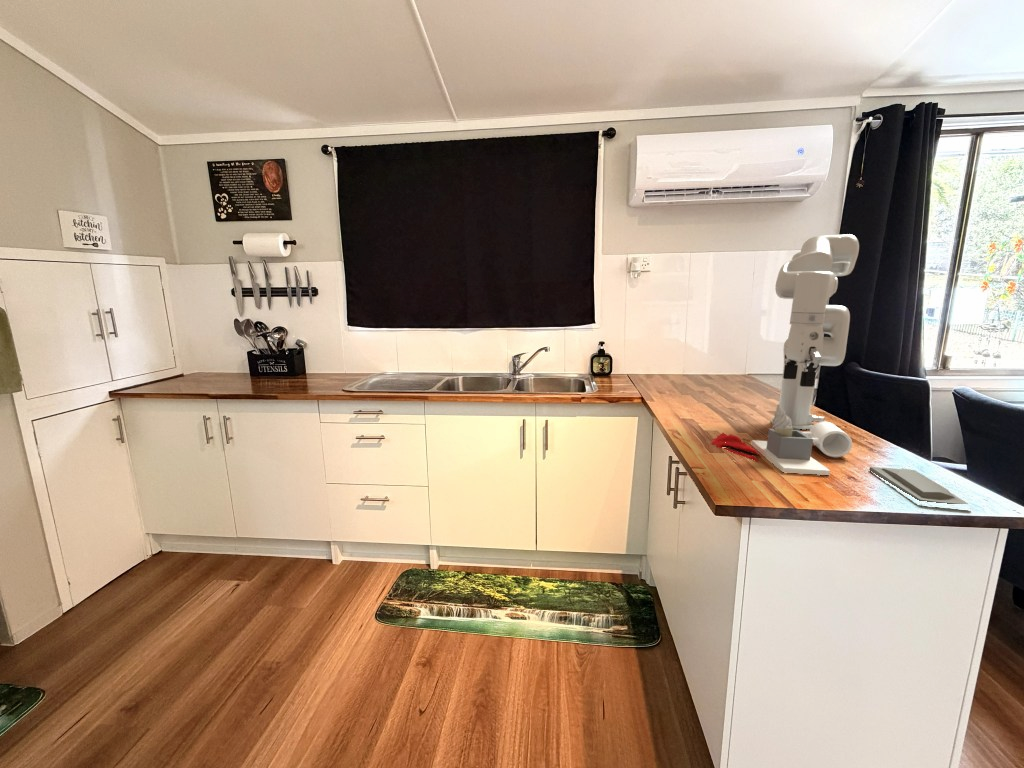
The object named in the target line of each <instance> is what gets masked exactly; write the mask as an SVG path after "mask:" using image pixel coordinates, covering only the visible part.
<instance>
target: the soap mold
mask: <svg viewBox="0 0 1024 768" xmlns="http://www.w3.org/2000/svg"><path fill="white" fill-rule="evenodd" d="M869 470H870V471H872V472H873V473H875V474H876V475H878V476H879V477H881V478H883V479H884V480H886V481H888V482H889V483H891V484H892V485H894V486H896V487H897V488H899V489H900V490H902V491H903V492H905V493H907V494H909V495H911V496H912V497H914V498H915V499H917V500H919V501H927V502H936V503H947V504H969V503H967V502H966V501H965V500H963V499H961V498H960V497H958V496H956V495H955V494H953V493H952V492H951V491H950V490H949V489H947V488H946V487H944V486H942V485H940V484H939V483H937V482H936V481H935V480H932V479H930V478H929V477H927V476H925V475H924V474H922V473H920V472H919V471H918V470H917V471H916V470H914V469H910V468H909V469H908V468H893V467H891V468H890V467H877V466H869V469H868V471H869Z"/></svg>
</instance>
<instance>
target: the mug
mask: <svg viewBox="0 0 1024 768" xmlns="http://www.w3.org/2000/svg"><path fill="white" fill-rule="evenodd" d="M808 430H809V431H802V432H803V433H804V434H806V435H807V436H809V437H811V438H812V439H813V444H812V445H814V446H815V447H816V448H817V449H819V451H820V452H822V453H823V454H824V455H825V456H827V457H831V458H841V457H844V456H846V455H848V454H849V453H850V451H851V450H852V448H853V441H852V438H851V436H850V435H849V434H847V433H846V432H845V431H843V430H842V429H841V428H839V427H838V426H836V424H834V423H832V422H829V421H824V422H817V423H814V424H813V426H812V427H811V428H810V429H808Z"/></svg>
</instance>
